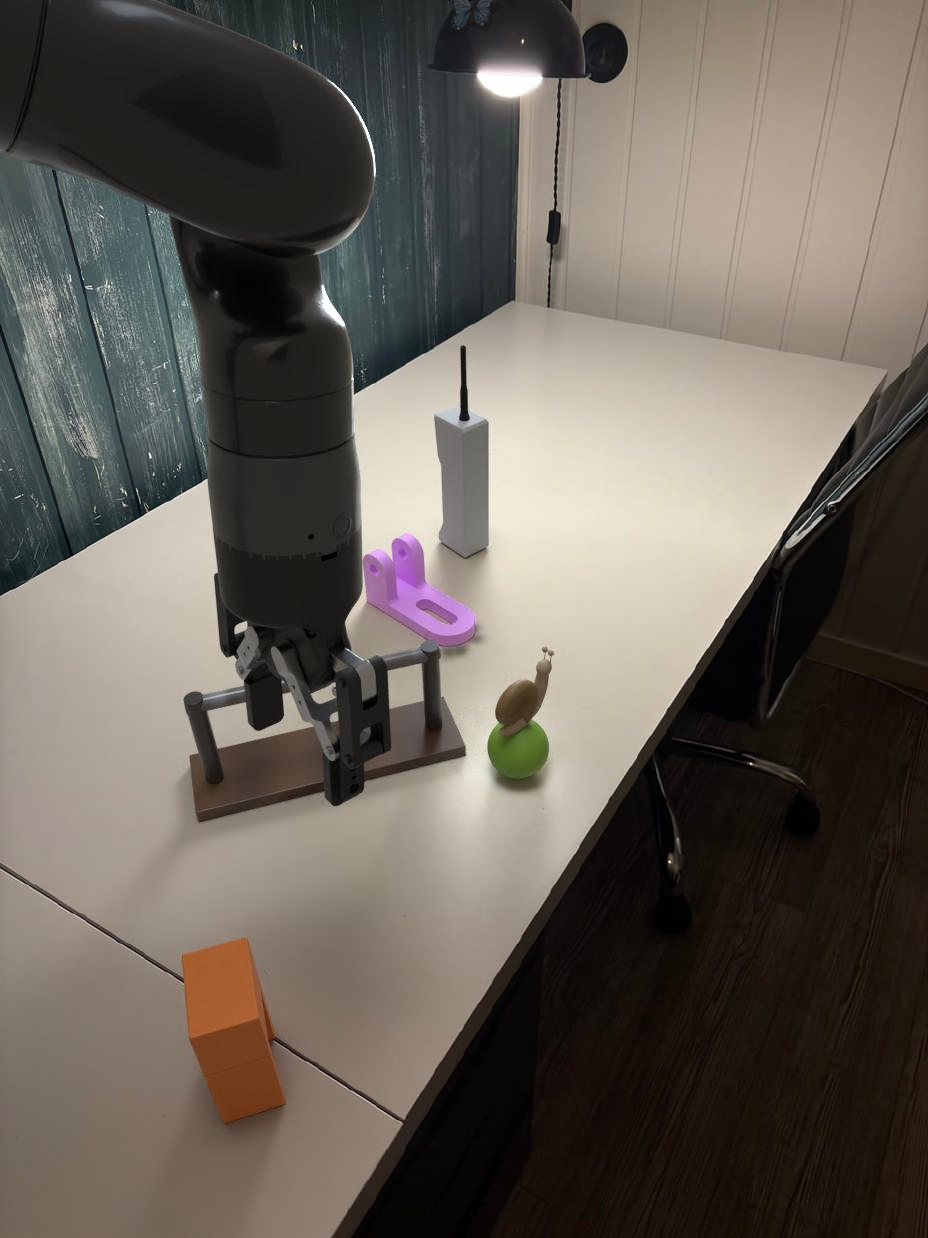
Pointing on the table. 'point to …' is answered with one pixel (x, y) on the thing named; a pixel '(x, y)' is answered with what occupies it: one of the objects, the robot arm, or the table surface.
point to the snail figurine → (521, 726)
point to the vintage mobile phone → (464, 473)
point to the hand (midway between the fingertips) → (303, 759)
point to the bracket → (414, 594)
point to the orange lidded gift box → (231, 1029)
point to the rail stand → (313, 745)
